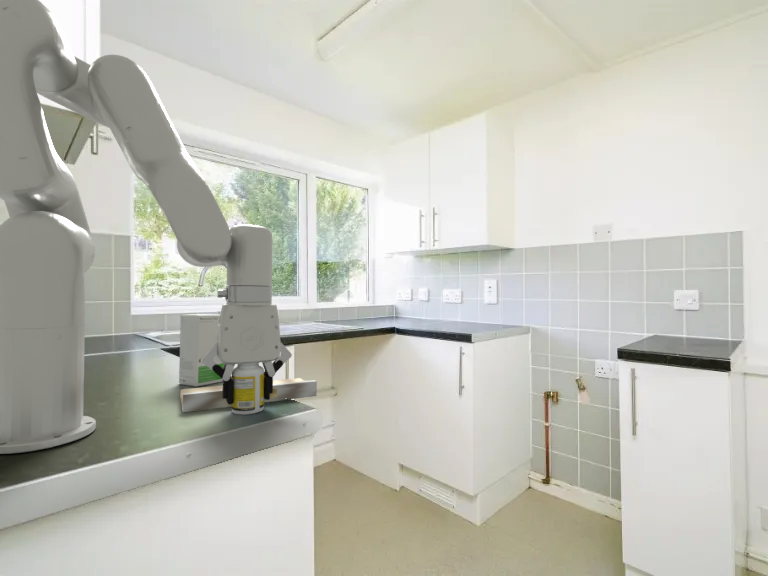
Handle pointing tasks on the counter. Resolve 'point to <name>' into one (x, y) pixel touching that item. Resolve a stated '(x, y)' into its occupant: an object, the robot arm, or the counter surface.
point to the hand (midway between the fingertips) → (247, 399)
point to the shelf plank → (214, 399)
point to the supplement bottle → (248, 389)
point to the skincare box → (198, 349)
